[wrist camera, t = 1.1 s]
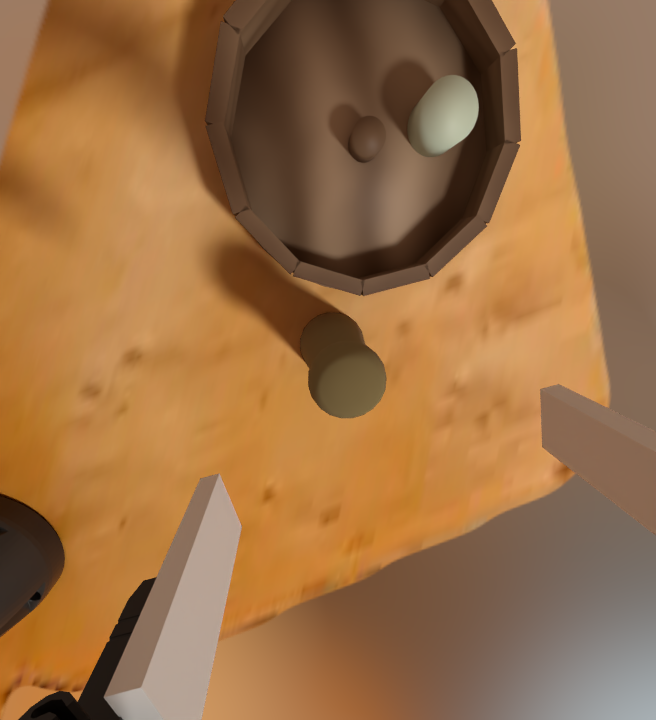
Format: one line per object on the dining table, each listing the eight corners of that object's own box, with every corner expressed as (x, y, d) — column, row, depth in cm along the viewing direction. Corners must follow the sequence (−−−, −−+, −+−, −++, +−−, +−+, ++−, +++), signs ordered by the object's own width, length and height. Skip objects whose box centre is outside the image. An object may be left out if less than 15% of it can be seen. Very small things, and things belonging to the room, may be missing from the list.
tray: (267, 316, 29) (264, 324, 26) (172, 7, 22) (151, -36, 19) (502, 255, 29) (528, 255, 26) (481, -68, 22) (513, -123, 19)
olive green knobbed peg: (295, 316, 29) (295, 349, 19) (361, 308, 30) (397, 336, 19) (304, 378, 31) (308, 439, 21) (365, 369, 31) (401, 426, 21)
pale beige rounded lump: (411, 162, 25) (426, 150, 23) (403, 103, 24) (417, 83, 21) (460, 150, 25) (480, 137, 23) (454, 90, 24) (475, 68, 21)
